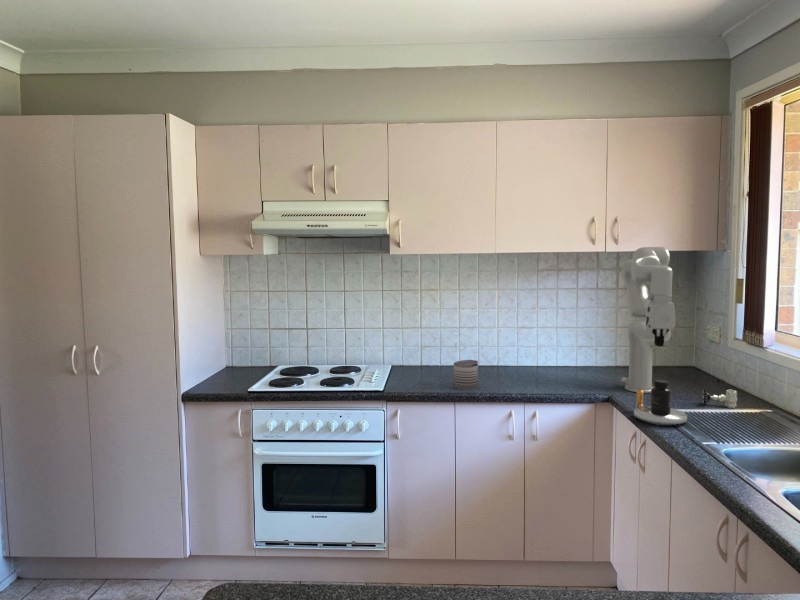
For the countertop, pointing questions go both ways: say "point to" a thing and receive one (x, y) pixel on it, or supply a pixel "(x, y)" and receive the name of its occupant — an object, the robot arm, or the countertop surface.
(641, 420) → the turntable base
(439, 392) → the countertop surface
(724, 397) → the valve
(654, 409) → the supplement bottle
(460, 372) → the can
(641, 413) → the turntable
